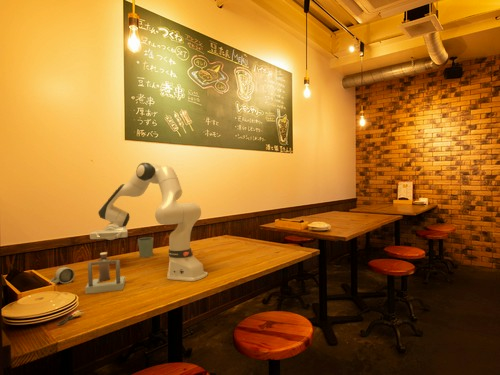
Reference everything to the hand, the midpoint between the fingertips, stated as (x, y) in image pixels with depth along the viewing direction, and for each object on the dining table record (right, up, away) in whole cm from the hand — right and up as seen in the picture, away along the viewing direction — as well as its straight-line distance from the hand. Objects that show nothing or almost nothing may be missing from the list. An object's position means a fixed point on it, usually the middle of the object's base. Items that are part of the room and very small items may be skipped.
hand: (107, 237), depth 176 cm
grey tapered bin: (+9, -19, +38) cm, 43 cm away
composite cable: (+12, -22, -59) cm, 64 cm away
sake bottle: (+4, -21, -12) cm, 24 cm away
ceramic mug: (-16, -21, -15) cm, 31 cm away
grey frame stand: (+11, -21, -24) cm, 34 cm away
